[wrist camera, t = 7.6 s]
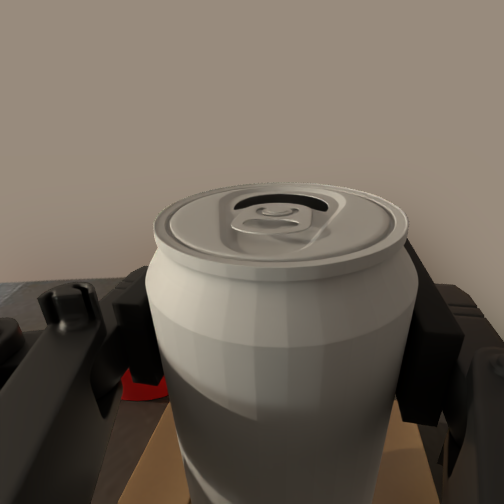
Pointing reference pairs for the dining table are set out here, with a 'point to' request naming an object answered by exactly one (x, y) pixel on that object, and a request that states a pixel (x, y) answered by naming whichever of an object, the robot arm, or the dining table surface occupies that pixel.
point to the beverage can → (281, 338)
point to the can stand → (386, 489)
